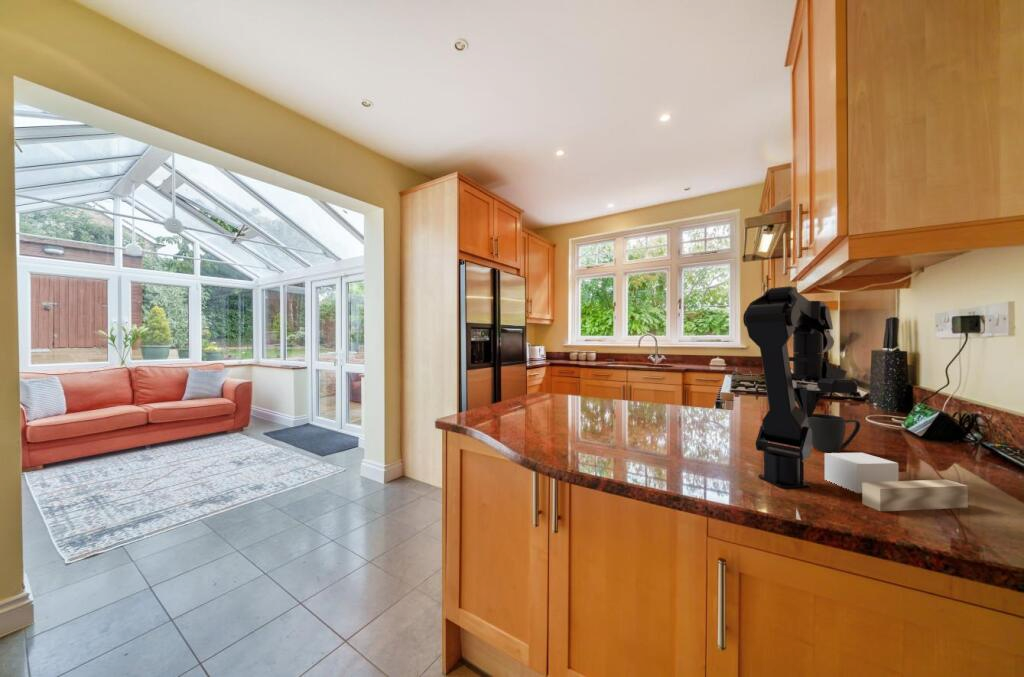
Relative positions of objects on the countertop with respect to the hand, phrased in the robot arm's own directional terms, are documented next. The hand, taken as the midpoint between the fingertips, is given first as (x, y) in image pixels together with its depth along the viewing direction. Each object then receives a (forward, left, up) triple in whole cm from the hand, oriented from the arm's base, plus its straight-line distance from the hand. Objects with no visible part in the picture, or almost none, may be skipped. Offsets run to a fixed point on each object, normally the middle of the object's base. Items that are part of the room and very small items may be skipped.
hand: (807, 416), depth 88 cm
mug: (+19, +11, -12) cm, 25 cm away
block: (0, -12, -12) cm, 17 cm away
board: (0, -21, -12) cm, 25 cm away
